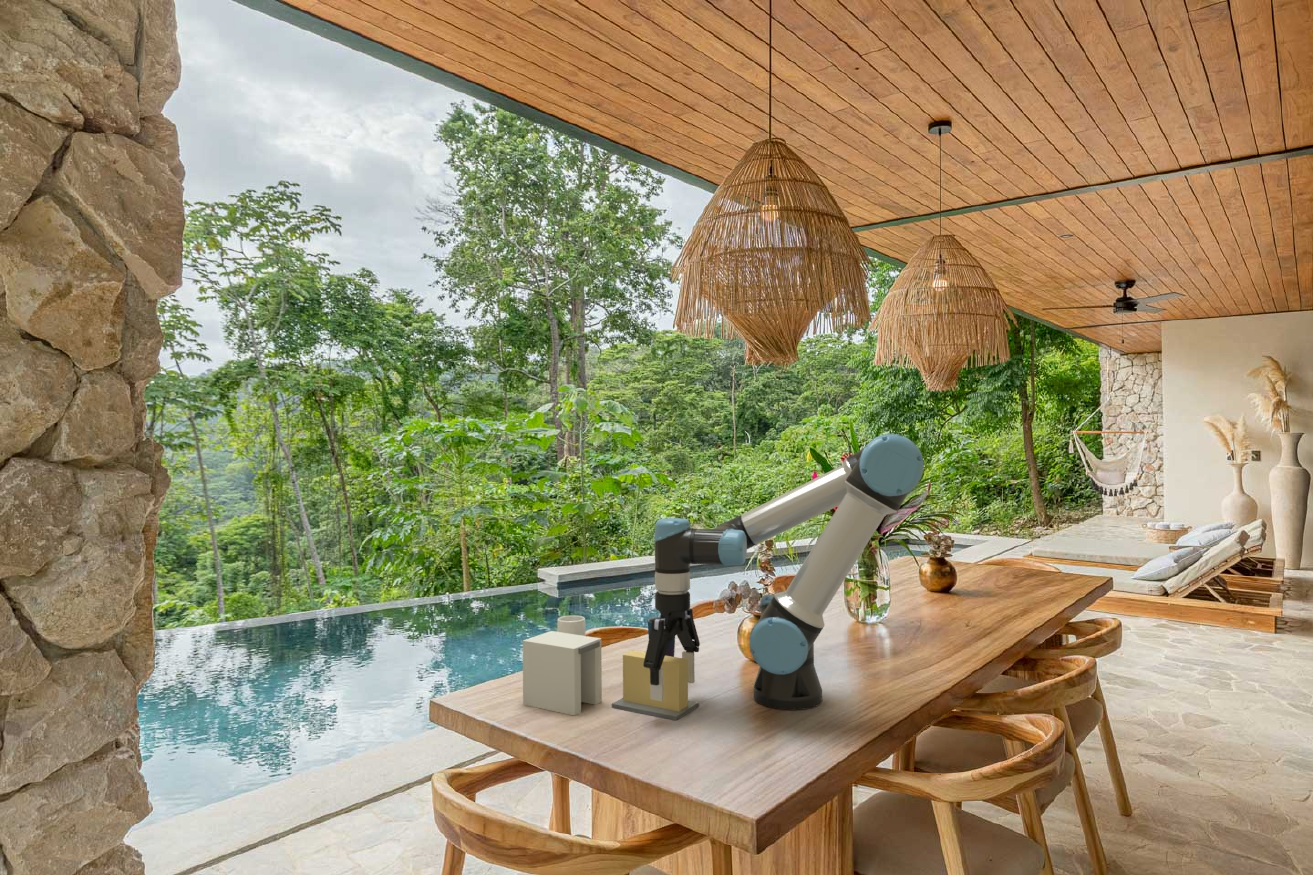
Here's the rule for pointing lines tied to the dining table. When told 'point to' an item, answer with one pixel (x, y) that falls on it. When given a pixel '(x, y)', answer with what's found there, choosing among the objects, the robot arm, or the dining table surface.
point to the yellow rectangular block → (639, 681)
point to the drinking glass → (571, 625)
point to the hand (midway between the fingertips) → (673, 690)
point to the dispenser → (562, 672)
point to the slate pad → (654, 709)
